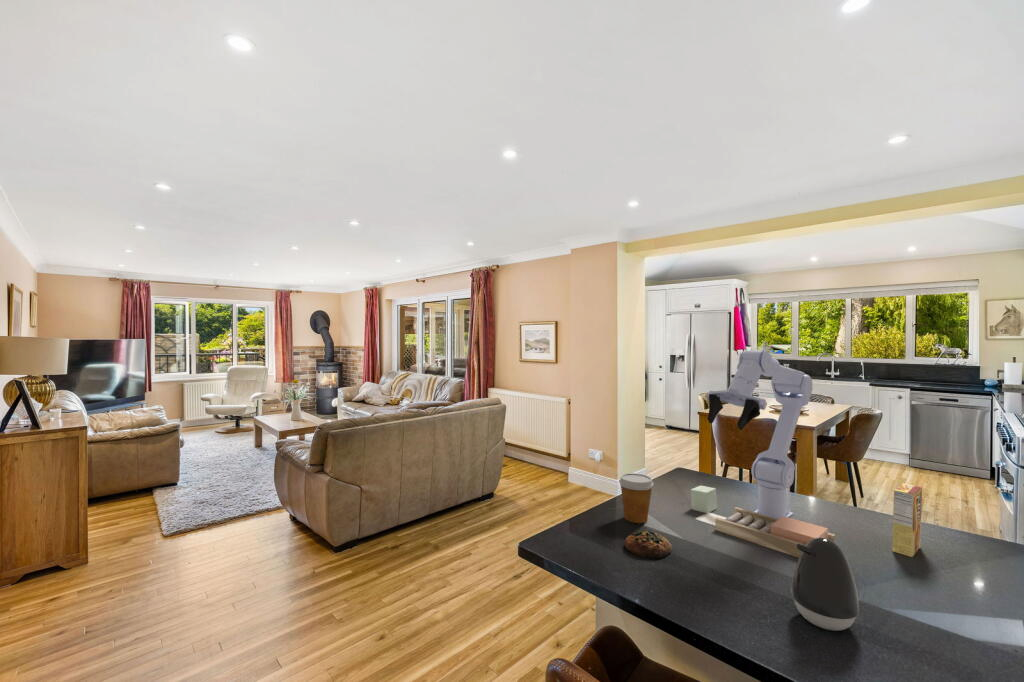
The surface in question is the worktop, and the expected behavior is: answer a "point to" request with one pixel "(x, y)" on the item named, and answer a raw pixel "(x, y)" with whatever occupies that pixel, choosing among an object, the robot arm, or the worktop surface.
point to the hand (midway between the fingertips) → (724, 424)
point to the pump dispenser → (825, 585)
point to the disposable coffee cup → (636, 496)
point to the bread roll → (648, 544)
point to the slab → (798, 530)
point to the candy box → (907, 519)
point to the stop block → (703, 499)
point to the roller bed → (754, 529)
